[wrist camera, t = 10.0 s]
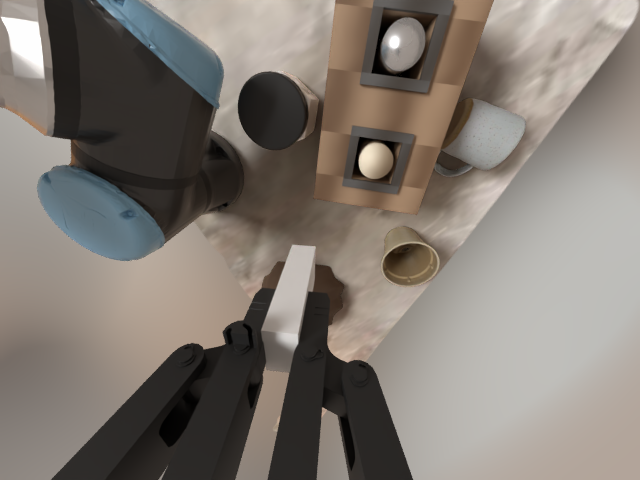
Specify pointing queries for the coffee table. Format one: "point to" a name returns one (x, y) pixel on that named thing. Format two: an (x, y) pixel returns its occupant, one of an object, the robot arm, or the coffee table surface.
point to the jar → (277, 109)
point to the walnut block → (392, 98)
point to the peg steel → (399, 47)
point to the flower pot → (408, 259)
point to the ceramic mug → (480, 136)
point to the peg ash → (374, 158)
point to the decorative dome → (322, 283)
